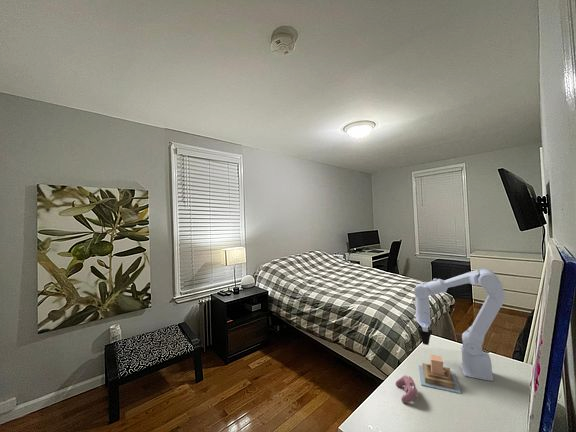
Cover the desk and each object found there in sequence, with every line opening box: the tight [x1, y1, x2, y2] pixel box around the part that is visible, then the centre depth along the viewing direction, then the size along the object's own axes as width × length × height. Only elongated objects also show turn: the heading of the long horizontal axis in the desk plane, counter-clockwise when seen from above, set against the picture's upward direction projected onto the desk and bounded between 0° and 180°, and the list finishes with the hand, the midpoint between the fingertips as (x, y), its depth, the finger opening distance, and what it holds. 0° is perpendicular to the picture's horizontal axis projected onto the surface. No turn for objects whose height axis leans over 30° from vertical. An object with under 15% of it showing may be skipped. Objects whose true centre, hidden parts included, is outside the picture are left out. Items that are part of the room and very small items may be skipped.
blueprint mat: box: [418, 364, 462, 395], centre depth 97 cm, size 13×13×1 cm
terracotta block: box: [429, 354, 444, 376], centre depth 97 cm, size 4×4×6 cm
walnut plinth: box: [421, 362, 455, 389], centre depth 97 cm, size 10×10×3 cm
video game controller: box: [395, 374, 418, 404], centre depth 89 cm, size 10×5×7 cm, turn 169°
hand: (424, 340), depth 109 cm, fingers open, 7 cm apart
